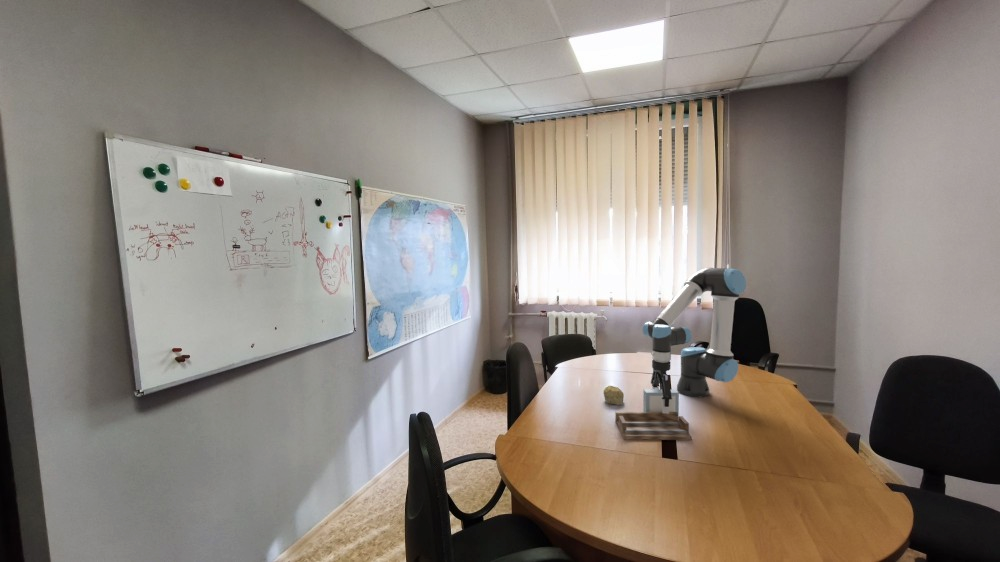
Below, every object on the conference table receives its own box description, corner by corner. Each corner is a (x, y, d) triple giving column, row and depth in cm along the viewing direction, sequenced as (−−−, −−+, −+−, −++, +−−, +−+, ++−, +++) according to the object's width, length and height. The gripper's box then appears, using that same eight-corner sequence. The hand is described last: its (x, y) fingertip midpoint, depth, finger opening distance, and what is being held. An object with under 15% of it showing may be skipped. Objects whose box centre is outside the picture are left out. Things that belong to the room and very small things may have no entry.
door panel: (675, 415, 175) (675, 389, 174) (678, 419, 171) (679, 392, 170) (643, 414, 176) (643, 389, 175) (646, 418, 172) (646, 392, 171)
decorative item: (623, 408, 193) (620, 388, 198) (626, 403, 184) (623, 382, 190) (603, 408, 193) (601, 388, 199) (606, 403, 185) (603, 382, 190)
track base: (676, 421, 168) (676, 409, 168) (691, 440, 152) (691, 426, 152) (615, 421, 170) (615, 409, 170) (624, 439, 155) (624, 426, 154)
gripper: (644, 352, 184) (643, 396, 186) (662, 368, 159) (661, 418, 161) (660, 352, 183) (659, 396, 185) (680, 368, 159) (679, 419, 160)
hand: (660, 406), depth 173 cm, fingers open, 13 cm apart
